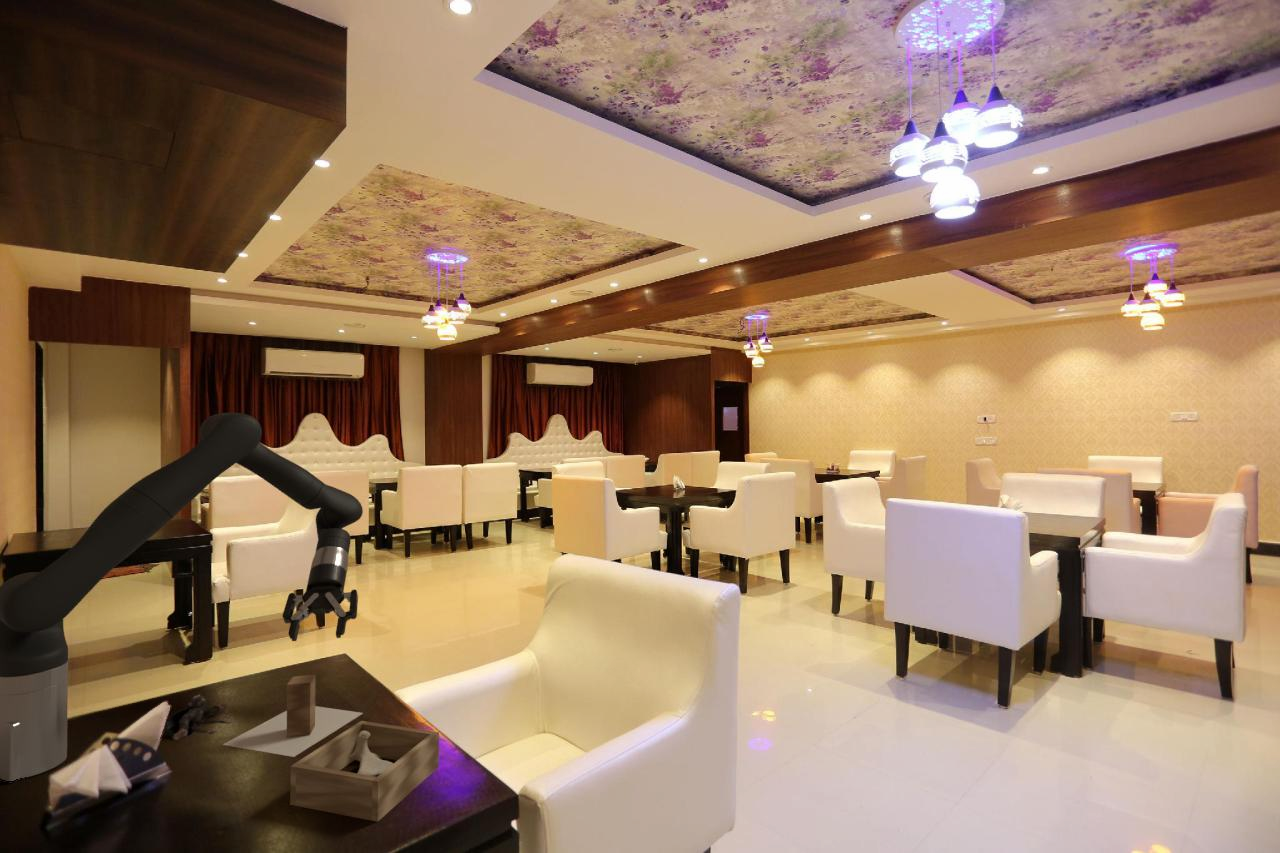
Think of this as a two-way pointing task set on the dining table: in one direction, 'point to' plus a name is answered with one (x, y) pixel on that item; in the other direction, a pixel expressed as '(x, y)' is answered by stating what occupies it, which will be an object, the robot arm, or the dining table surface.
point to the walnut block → (300, 706)
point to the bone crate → (358, 793)
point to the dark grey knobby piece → (193, 718)
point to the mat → (275, 737)
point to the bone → (368, 757)
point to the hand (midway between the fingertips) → (316, 637)
